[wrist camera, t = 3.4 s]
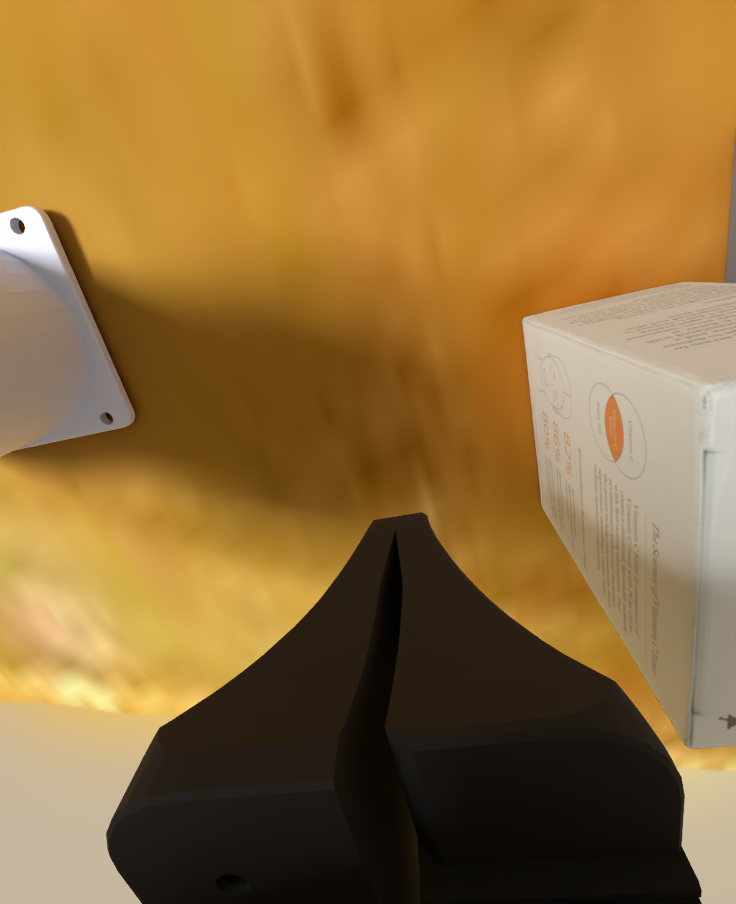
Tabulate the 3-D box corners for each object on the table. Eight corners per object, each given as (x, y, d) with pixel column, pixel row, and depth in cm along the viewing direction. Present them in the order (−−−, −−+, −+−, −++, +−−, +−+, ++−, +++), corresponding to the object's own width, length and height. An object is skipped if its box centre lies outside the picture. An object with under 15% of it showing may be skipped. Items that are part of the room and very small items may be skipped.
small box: (678, 483, 18) (1007, 736, 8) (536, 506, 19) (687, 763, 9) (686, 275, 15) (1206, 293, 5) (517, 313, 16) (710, 387, 6)
